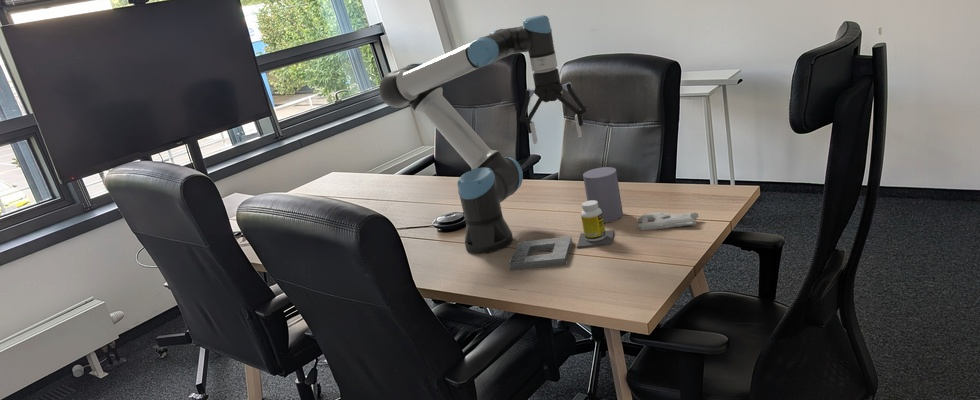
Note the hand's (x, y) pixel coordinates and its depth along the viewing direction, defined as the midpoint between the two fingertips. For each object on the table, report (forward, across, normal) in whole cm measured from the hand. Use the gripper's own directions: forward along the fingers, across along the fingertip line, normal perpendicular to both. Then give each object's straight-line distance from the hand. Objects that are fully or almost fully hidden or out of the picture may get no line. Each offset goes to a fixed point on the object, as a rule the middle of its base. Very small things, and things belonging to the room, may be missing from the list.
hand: (557, 139), depth 224 cm
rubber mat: (+29, +8, -12) cm, 32 cm away
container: (+29, +10, +6) cm, 31 cm away
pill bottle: (+28, +8, -12) cm, 32 cm away
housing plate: (+29, -7, -20) cm, 36 cm away
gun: (+29, +28, -5) cm, 41 cm away
